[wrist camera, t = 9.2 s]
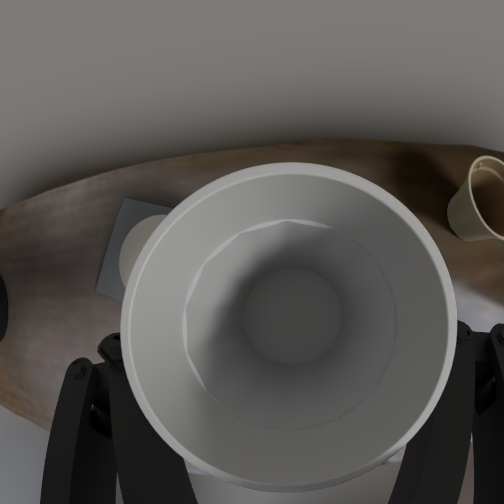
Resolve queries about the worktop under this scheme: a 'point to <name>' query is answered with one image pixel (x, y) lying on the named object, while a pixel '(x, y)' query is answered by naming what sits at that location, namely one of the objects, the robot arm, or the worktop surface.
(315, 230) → the cup
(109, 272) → the board
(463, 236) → the flower pot
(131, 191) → the worktop surface
